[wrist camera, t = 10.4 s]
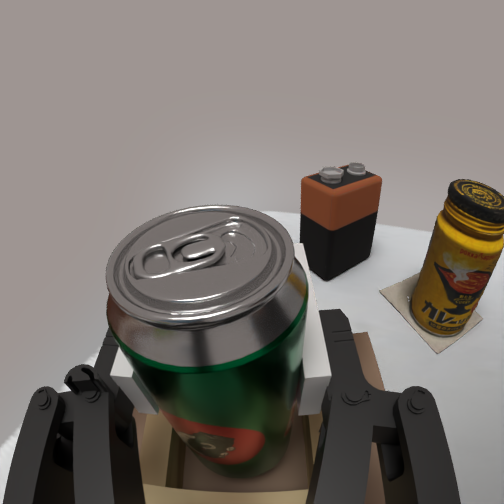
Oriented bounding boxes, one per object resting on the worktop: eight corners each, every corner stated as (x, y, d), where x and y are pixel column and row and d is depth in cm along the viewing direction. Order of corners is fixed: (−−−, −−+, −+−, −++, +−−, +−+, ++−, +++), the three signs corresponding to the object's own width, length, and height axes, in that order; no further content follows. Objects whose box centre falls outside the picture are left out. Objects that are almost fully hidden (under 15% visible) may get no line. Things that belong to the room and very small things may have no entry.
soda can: (306, 456, 13) (361, 279, 6) (212, 493, 11) (90, 372, 4) (264, 385, 16) (254, 184, 9) (181, 414, 15) (92, 226, 8)
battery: (296, 261, 31) (298, 167, 25) (342, 239, 34) (350, 154, 28) (325, 283, 28) (335, 183, 22) (371, 257, 31) (386, 167, 25)
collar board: (363, 344, 22) (376, 303, 19) (405, 543, 9) (440, 539, 6) (135, 352, 22) (115, 314, 20) (97, 542, 9) (55, 534, 7)
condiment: (437, 355, 20) (498, 225, 13) (378, 292, 26) (404, 168, 19) (482, 320, 22) (533, 206, 15) (427, 269, 28) (456, 162, 21)
